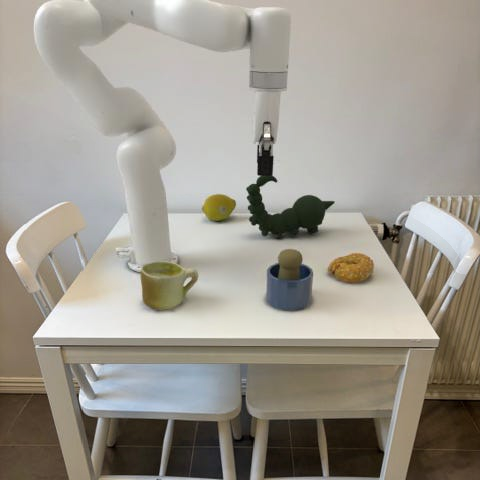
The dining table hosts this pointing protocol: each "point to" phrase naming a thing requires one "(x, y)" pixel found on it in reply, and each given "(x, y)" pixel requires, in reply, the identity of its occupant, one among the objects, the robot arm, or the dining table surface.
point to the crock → (289, 289)
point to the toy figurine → (285, 212)
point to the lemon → (218, 207)
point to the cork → (289, 264)
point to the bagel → (352, 267)
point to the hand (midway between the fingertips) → (264, 169)
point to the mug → (165, 284)
